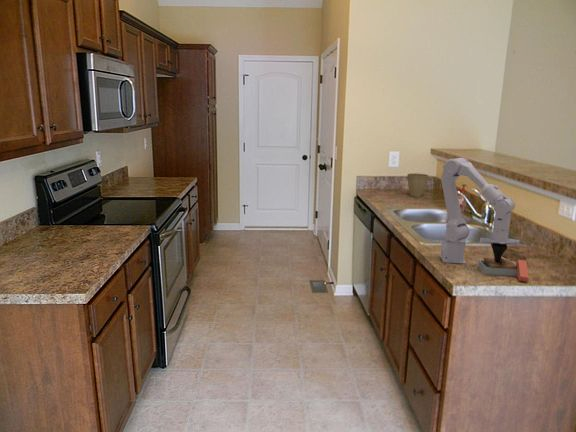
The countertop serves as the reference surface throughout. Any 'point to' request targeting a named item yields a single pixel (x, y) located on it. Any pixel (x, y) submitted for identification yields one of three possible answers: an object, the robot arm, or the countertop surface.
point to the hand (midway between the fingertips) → (496, 261)
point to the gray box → (496, 270)
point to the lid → (500, 263)
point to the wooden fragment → (514, 255)
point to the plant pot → (417, 183)
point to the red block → (522, 270)
